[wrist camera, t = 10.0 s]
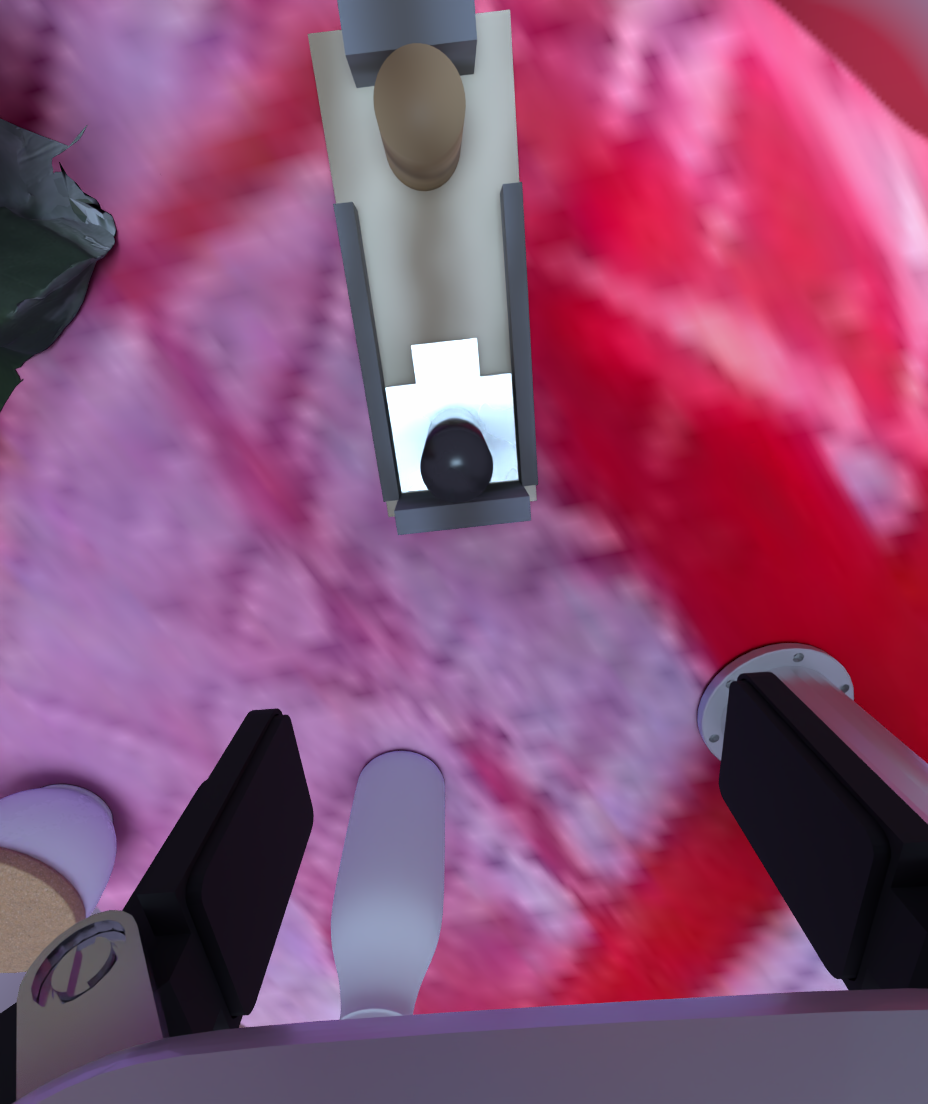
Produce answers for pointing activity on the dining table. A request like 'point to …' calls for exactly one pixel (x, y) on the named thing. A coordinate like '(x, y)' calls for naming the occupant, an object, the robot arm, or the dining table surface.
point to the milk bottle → (390, 886)
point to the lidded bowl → (50, 867)
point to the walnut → (420, 115)
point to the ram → (452, 423)
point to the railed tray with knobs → (431, 234)
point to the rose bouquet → (41, 248)
